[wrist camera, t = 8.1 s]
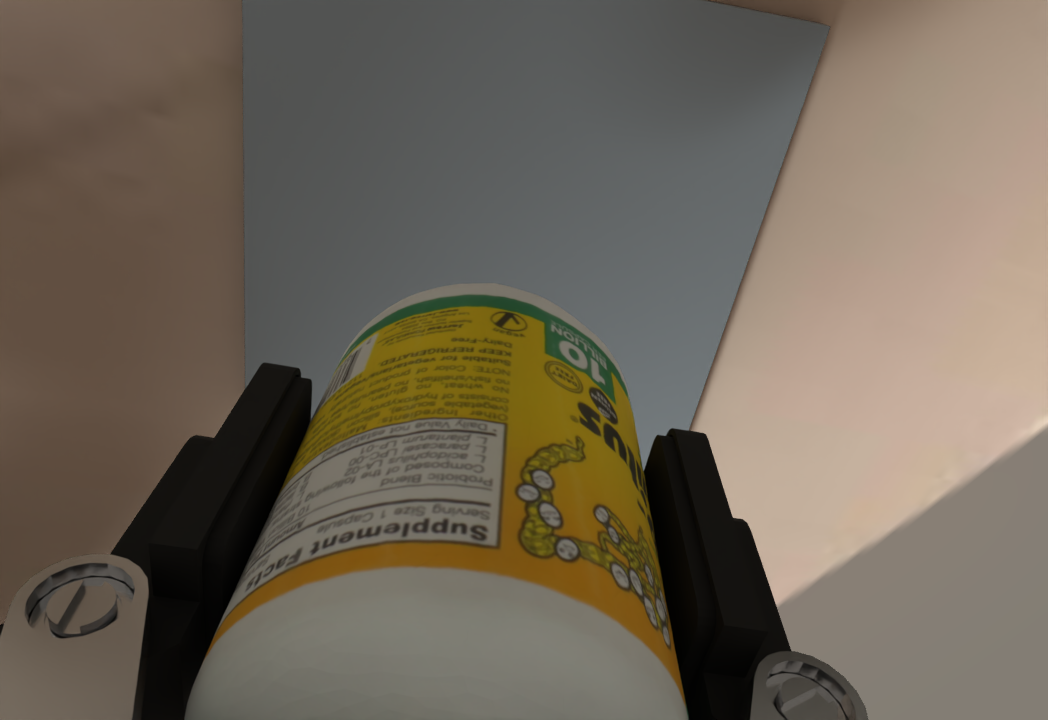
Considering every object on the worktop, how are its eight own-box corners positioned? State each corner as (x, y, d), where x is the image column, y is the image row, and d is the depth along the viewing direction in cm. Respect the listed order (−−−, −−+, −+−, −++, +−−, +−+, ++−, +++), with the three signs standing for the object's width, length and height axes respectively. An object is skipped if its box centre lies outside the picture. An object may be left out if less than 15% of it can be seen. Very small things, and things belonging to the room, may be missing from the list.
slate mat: (669, 466, 26) (671, 477, 25) (251, 401, 25) (245, 411, 24) (822, 23, 19) (830, 26, 18) (250, -92, 18) (241, -92, 17)
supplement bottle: (294, 303, 13) (-162, 997, 5) (607, 246, 12) (738, 936, 4) (386, 536, 16) (203, 1244, 7) (647, 499, 15) (776, 1233, 7)
